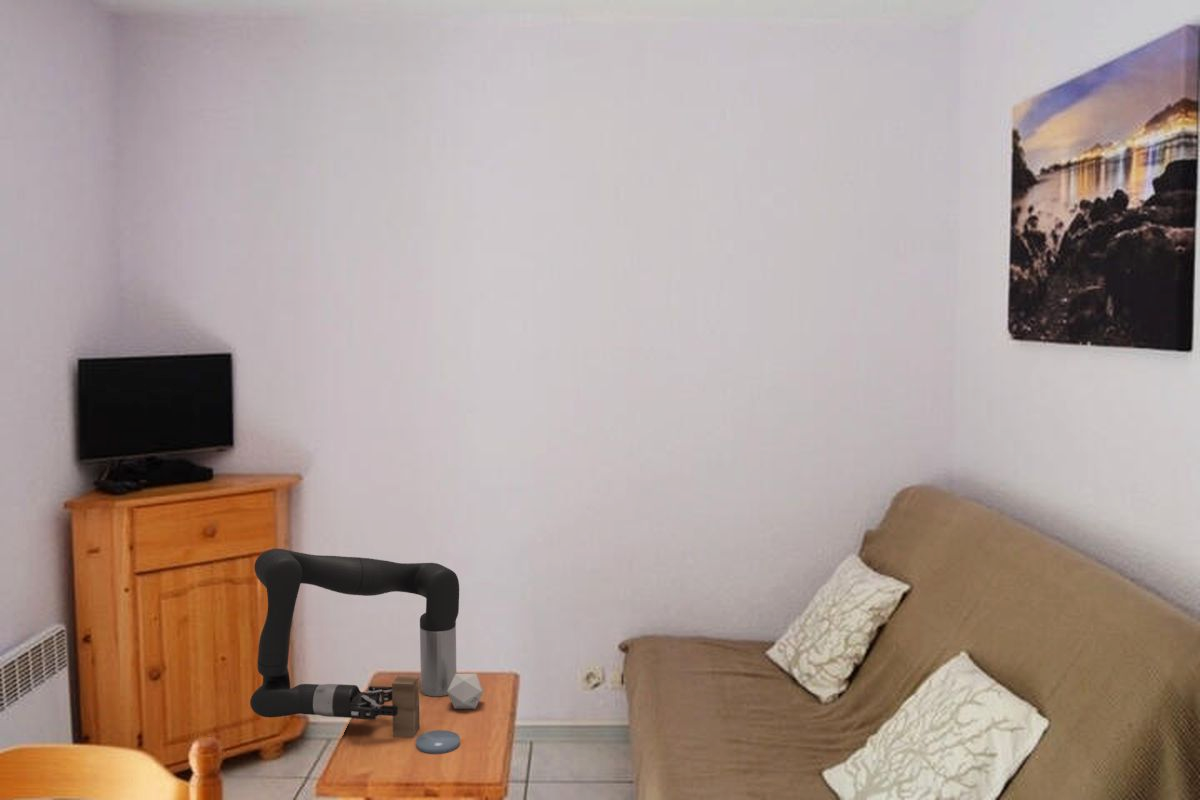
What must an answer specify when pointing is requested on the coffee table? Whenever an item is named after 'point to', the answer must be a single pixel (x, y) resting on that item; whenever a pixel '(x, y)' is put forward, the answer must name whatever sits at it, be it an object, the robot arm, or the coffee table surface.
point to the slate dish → (437, 741)
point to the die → (465, 691)
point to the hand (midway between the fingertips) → (402, 703)
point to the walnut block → (406, 706)
